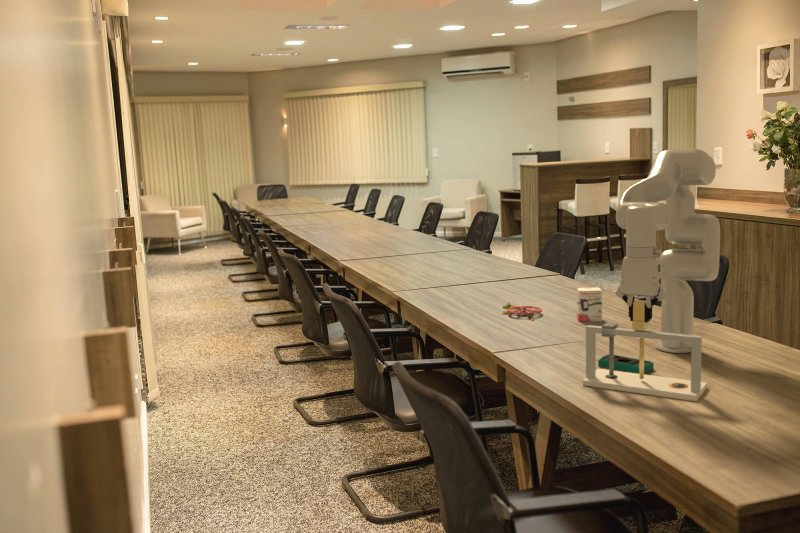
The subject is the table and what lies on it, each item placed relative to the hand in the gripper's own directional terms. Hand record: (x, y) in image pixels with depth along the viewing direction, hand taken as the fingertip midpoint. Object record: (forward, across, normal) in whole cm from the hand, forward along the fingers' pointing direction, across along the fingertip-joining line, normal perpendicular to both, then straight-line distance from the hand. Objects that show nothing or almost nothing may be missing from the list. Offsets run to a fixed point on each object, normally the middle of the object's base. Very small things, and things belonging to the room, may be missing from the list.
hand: (640, 320), depth 211 cm
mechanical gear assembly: (+20, +68, -71) cm, 100 cm away
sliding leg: (+17, 0, 0) cm, 17 cm away
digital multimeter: (+19, +9, -17) cm, 27 cm away
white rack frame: (+19, -1, -2) cm, 19 cm away
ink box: (+19, +39, -70) cm, 82 cm away
